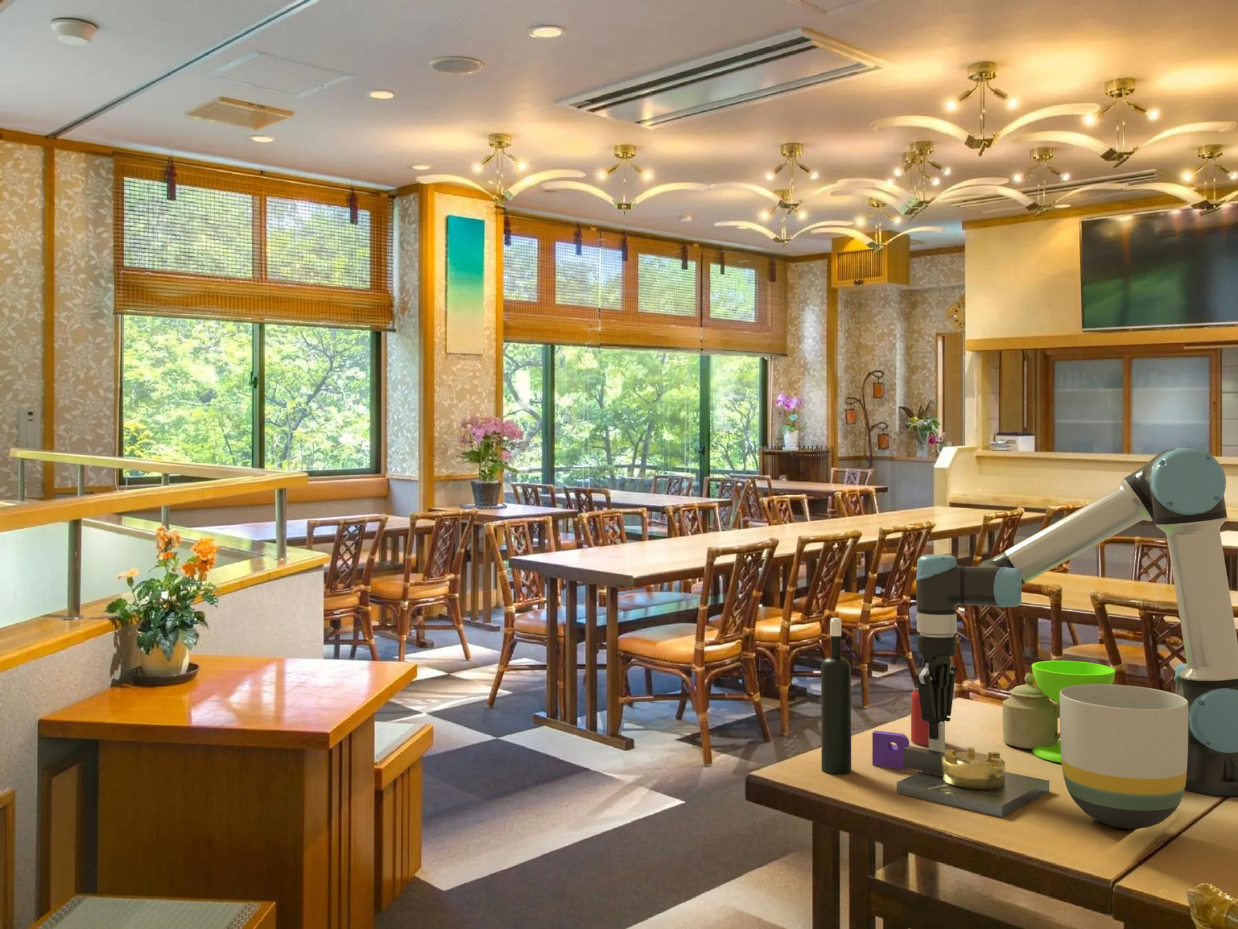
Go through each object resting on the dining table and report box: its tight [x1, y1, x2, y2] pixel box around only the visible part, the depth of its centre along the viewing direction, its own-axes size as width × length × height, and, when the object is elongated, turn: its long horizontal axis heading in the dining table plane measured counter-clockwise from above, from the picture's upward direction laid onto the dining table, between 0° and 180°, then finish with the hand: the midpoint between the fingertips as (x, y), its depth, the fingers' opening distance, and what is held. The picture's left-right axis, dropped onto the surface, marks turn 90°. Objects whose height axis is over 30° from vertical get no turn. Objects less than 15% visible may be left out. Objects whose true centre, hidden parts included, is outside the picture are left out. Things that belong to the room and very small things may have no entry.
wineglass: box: [1031, 660, 1116, 764], centre depth 223 cm, size 16×16×18 cm
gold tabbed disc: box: [903, 745, 1006, 789], centre depth 201 cm, size 19×11×5 cm, turn 46°
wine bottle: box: [820, 617, 852, 775], centre depth 212 cm, size 6×6×30 cm
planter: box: [1059, 683, 1188, 830], centre depth 180 cm, size 20×20×21 cm
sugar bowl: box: [1002, 672, 1060, 750], centre depth 230 cm, size 15×11×15 cm
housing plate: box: [896, 771, 1050, 818], centre depth 198 cm, size 20×20×2 cm
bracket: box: [871, 730, 910, 770], centre depth 220 cm, size 12×7×7 cm, turn 153°
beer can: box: [910, 685, 929, 747], centre depth 232 cm, size 7×7×12 cm
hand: (936, 754), depth 211 cm, fingers closed
